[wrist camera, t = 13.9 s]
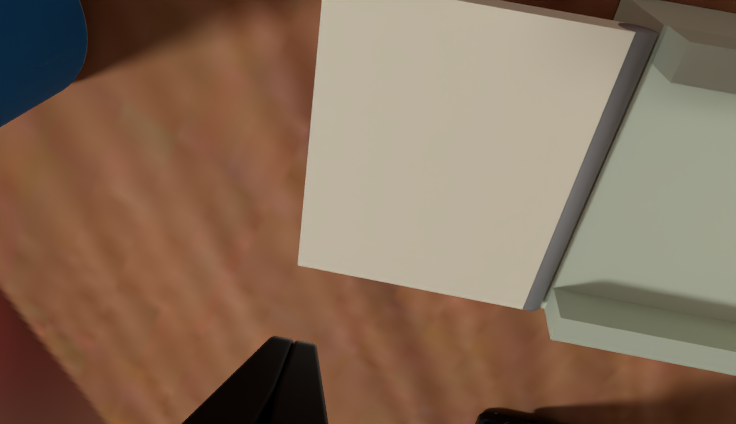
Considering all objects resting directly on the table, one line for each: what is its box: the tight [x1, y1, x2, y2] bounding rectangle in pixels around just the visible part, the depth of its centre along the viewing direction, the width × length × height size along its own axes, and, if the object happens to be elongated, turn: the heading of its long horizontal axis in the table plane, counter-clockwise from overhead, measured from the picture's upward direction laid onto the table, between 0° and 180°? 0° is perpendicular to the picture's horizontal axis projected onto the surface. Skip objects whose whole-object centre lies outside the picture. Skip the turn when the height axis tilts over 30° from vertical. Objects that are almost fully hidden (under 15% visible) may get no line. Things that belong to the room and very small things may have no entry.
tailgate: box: [298, 0, 658, 311], centre depth 17 cm, size 10×9×1 cm
